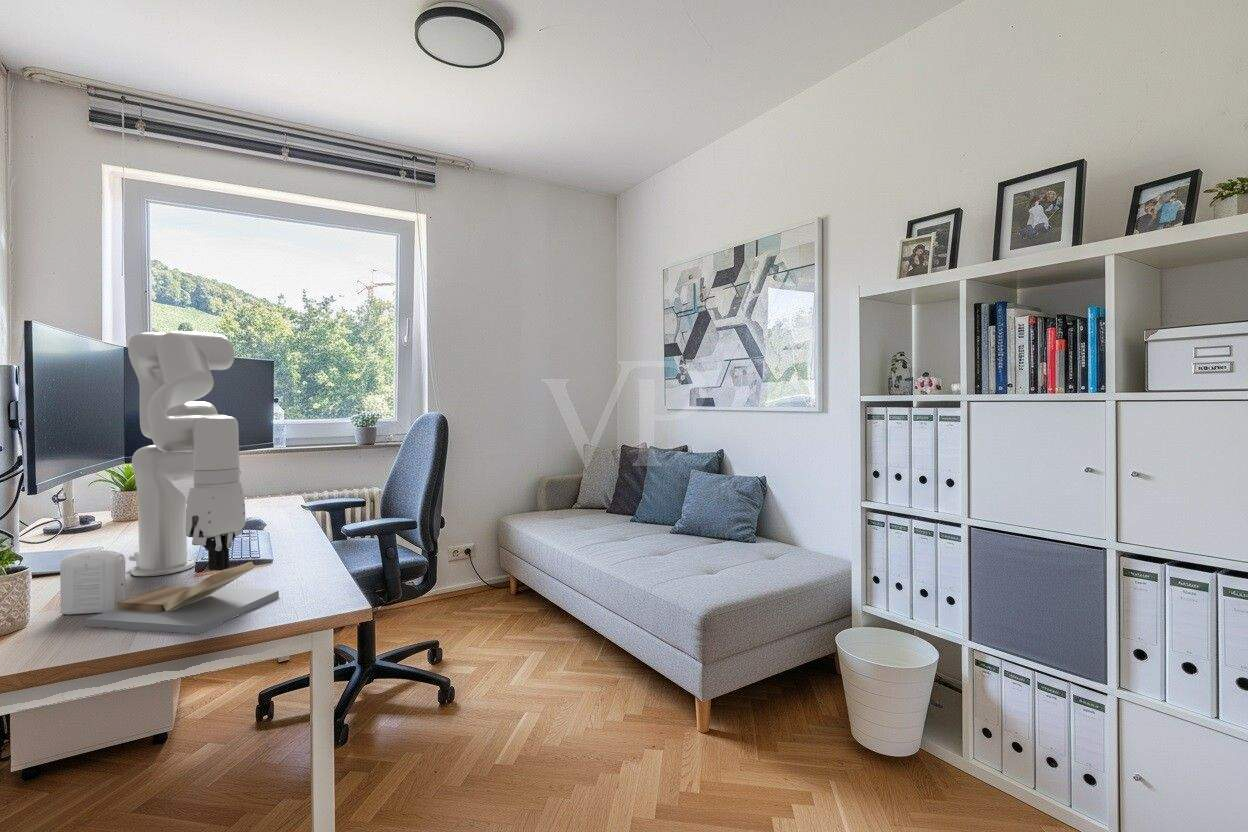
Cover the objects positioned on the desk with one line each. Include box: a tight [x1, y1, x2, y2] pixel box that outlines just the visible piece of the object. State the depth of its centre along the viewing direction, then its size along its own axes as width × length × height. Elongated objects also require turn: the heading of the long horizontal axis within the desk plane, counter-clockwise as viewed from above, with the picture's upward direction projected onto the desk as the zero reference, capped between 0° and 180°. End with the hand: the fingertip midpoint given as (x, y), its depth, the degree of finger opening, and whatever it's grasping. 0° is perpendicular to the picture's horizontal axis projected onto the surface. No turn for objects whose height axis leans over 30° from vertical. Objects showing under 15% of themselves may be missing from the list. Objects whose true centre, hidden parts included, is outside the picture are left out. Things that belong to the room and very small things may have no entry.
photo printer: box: [59, 549, 127, 615], centre depth 117 cm, size 10×4×12 cm, turn 103°
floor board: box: [85, 584, 280, 635], centre depth 117 cm, size 24×20×2 cm
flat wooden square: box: [118, 585, 191, 612], centre depth 118 cm, size 10×10×2 cm
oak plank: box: [163, 561, 256, 611], centre depth 116 cm, size 12×10×2 cm
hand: (219, 569), depth 116 cm, fingers closed
